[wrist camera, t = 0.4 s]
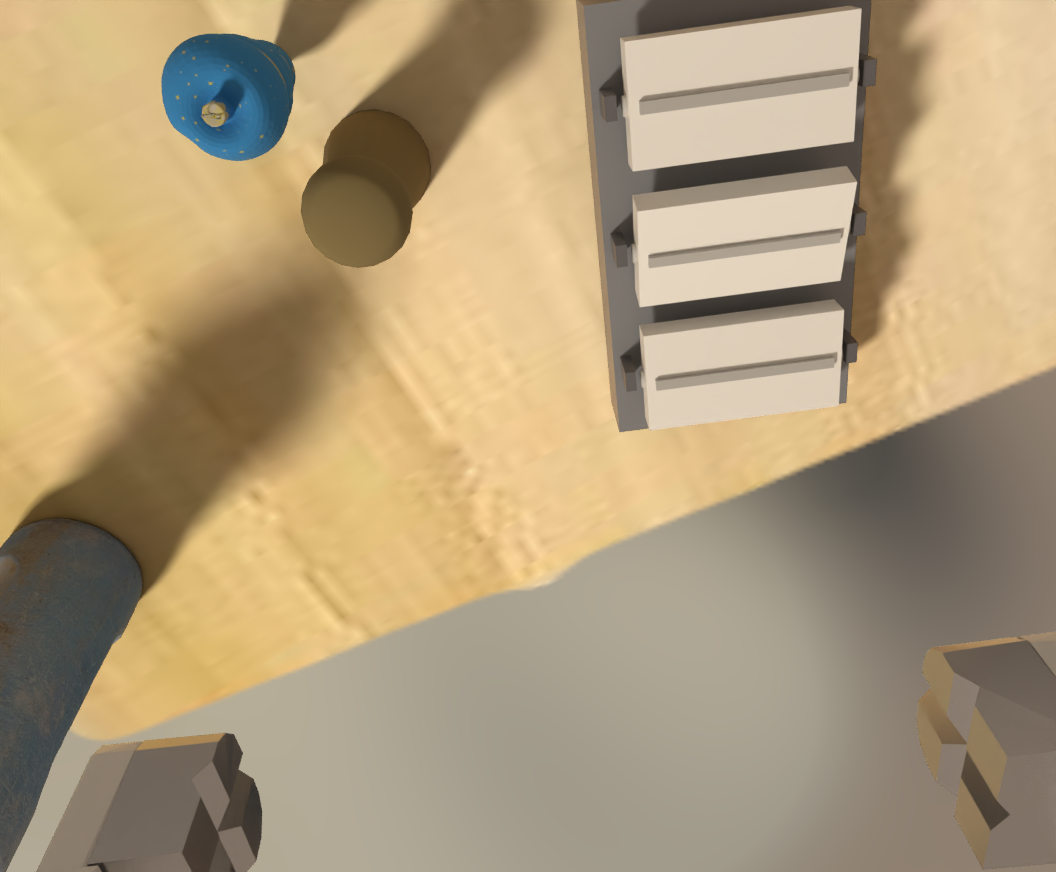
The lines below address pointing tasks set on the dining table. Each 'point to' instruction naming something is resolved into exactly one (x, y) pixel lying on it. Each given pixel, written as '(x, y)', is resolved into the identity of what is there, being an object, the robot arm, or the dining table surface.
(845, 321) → the switch unit
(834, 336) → the grooved switch paddle
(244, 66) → the ornament
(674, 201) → the rocker
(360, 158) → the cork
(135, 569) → the bottle
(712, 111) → the panel
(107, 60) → the dining table surface
